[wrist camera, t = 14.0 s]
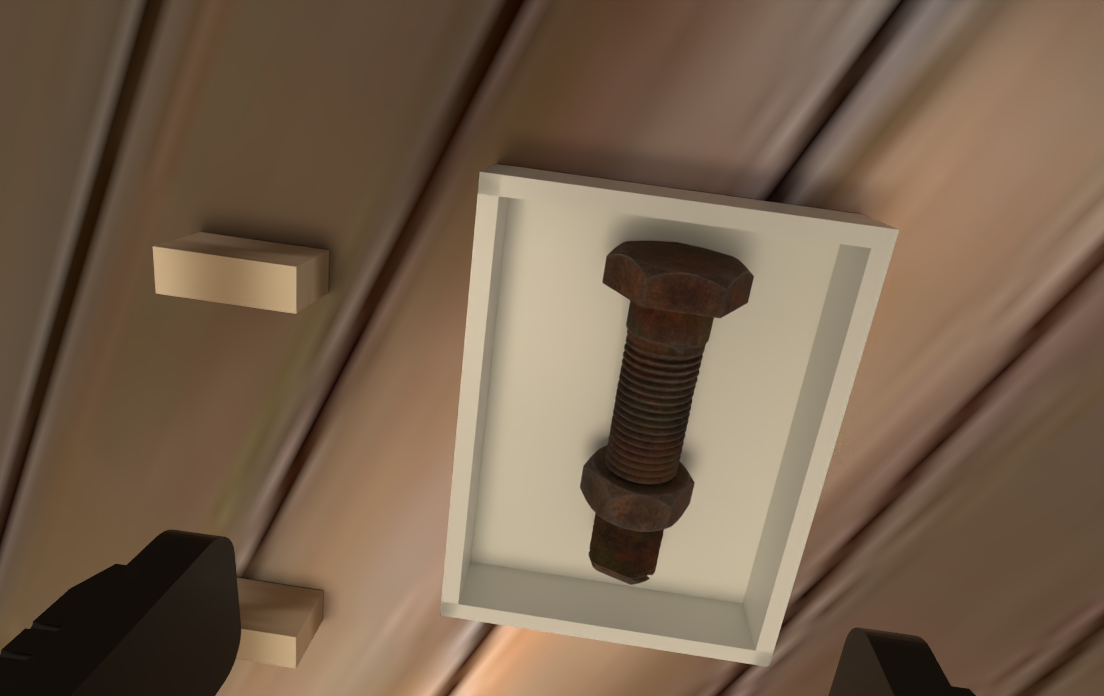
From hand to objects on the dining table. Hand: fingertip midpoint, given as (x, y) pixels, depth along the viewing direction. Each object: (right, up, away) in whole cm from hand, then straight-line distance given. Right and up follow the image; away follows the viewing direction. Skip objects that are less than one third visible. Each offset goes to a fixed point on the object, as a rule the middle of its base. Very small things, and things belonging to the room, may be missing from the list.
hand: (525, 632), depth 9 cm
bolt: (+5, +1, +23) cm, 23 cm away
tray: (+4, +1, +24) cm, 24 cm away
